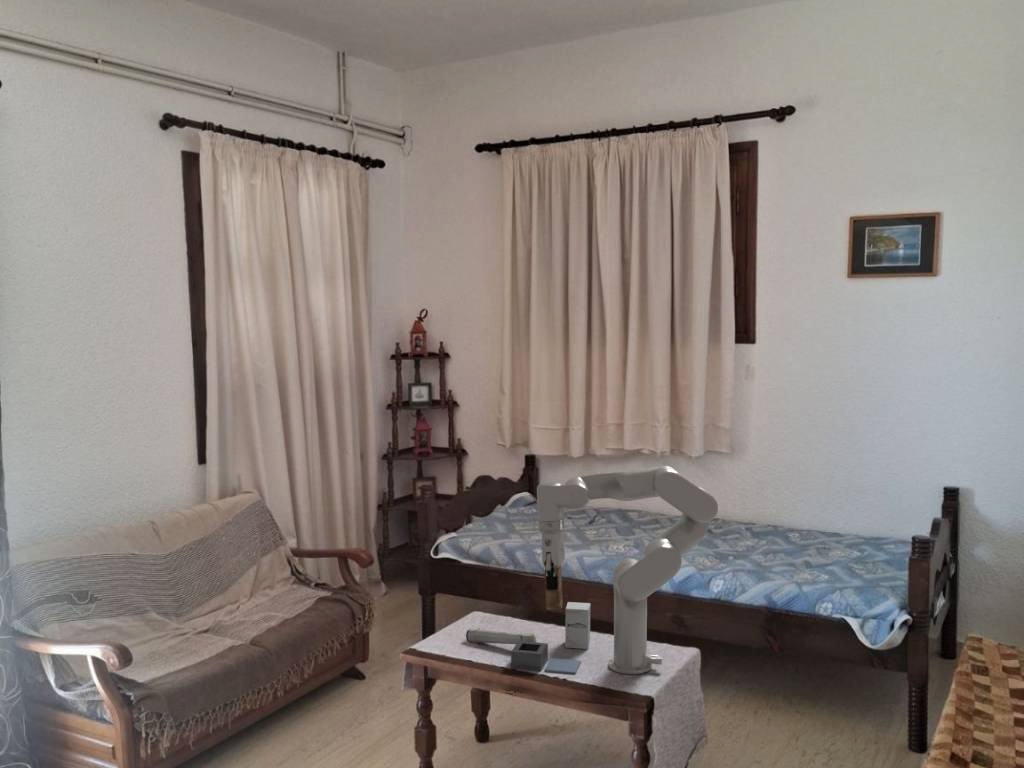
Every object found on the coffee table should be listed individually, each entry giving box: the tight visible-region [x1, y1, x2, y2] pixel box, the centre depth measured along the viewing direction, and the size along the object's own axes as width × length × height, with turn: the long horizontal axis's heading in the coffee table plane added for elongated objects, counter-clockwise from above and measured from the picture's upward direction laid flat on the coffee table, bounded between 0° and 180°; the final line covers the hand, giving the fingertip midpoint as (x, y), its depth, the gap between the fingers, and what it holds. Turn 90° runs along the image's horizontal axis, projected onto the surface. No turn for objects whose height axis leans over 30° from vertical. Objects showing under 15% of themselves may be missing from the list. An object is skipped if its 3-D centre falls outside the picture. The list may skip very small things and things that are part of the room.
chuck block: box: [510, 641, 549, 672], centre depth 258 cm, size 9×9×5 cm
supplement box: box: [564, 601, 592, 650], centre depth 273 cm, size 7×7×13 cm
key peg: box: [544, 563, 564, 611], centre depth 255 cm, size 5×5×13 cm
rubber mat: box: [544, 657, 582, 675], centre depth 255 cm, size 9×9×1 cm
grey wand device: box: [465, 628, 540, 645], centre depth 271 cm, size 5×7×25 cm
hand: (553, 586), depth 255 cm, fingers closed on key peg, 4 cm apart
